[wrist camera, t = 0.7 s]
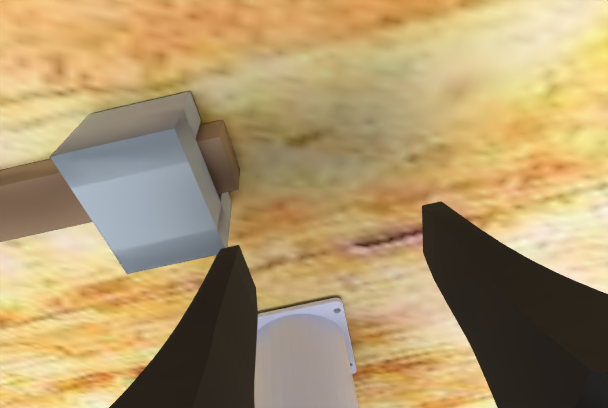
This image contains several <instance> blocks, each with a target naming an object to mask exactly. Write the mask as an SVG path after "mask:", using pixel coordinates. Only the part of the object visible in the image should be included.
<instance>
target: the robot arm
mask: <svg viewBox="0 0 608 408" xmlns="http://www.w3.org/2000/svg"><path fill="white" fill-rule="evenodd" d="M422 224H423V253H424V256H425V258H426V261H427V264H428V266H429V269H430V271H431V273H432V276H433V278H434V280H435V282H436V284H437V286H438V288H439V290H440V291H441V293H442V295H443V297H444V299H445V300H446V302H447V304H448V306H449V307H450V309H451V311H452V313H453V315H454V316H455V318H456V320H457V322H458V323H459V325H460V327H461V329H462V330H463V332H464V334H465V336H466V338H467V339H468V341H469V343H470V345H471V347H472V349H473V351H474V353H475V356H476V358H477V360H478V363H479V365H480V367H481V369H482V372H483V374H484V376H485V379H486V381H487V383H488V386H489V388H490V390H491V393H492V395H493V398H494V400H495V402H496V405H497V407H498V408H608V294H606V293H603V292H601V291H598V290H596V289H593V288H591V287H588V286H586V285H584V284H581V283H579V282H576V281H574V280H572V279H569V278H567V277H565V276H563V275H560V274H558V273H556V272H554V271H552V270H550V269H548V268H546V267H544V266H542V265H540V264H538V263H536V262H534V261H532V260H530V259H528V258H527V257H525V256H523V255H521V254H519V253H518V252H516V251H514V250H513V249H511V248H509V247H507V246H506V245H504V244H502V243H501V242H499V241H498V240H496V239H495V238H493V237H492V236H490V235H489V234H487V233H485V232H484V231H482V230H481V229H479V228H478V227H477V226H475V225H474V224H472V223H471V222H469V221H468V220H467V219H465V218H464V217H462V216H461V215H459V214H458V213H457V212H455V211H454V210H453V209H451V208H450V207H448V206H447V205H445V204H444V203H443V202H437V203H432V204H427V205H423V206H422ZM336 308H337V309H336ZM356 371H357V369H356V365H355V360H354V355H353V350H352V346H351V341H350V336H349V331H348V327H347V322H346V317H345V312H344V308H343V303H342V300H341V299H340V298H331V299H326V300H321V301H317V302H312V303H307V304H302V305H297V306H293V307H288V308H283V309H278V310H273V311H269V312H264V313H259V314H258V311H257V297H256V287H255V284H254V282H253V279H252V277H251V274H250V272H249V269H248V267H247V264H246V262H245V259H244V257H243V254H242V251H241V249H240V246H239V245H236V246H232V247H227V248H222V249H220V251H219V252H218V254H217V256H216V258H215V260H214V262H213V264H212V266H211V268H210V270H209V272H208V274H207V276H206V277H205V279H204V281H203V283H202V285H201V287H200V289H199V290H198V292H197V294H196V296H195V297H194V299H193V301H192V303H191V304H190V306H189V308H188V309H187V311H186V312H185V314H184V316H183V317H182V319H181V320H180V322H179V324H178V325H177V327H176V328H175V330H174V331H173V333H172V334H171V335H170V337H169V338H168V340H167V341H166V342H165V344H164V345H163V346H162V348H161V349H160V351H159V352H158V353H157V354H156V356H155V357H154V358H153V359H152V361H151V362H150V363H149V364H148V365H147V367H146V368H145V369H144V370H143V371H142V372H141V374H140V375H139V376H138V377H137V378H136V380H135V381H134V382H133V383H132V384H131V385H130V386H129V387H128V389H127V390H126V391H125V392H124V393H123V394H122V395H121V396H120V397H119V398H118V399H117V400H116V401H115V402H114V403H113V404H112V405H111V406H110V407H109V408H359V404H358V399H357V395H356V390H355V385H354V381H353V376H352V374H354V373H355V372H356Z"/></svg>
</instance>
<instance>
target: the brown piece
mask: <svg viewBox="0 0 608 408" xmlns="http://www.w3.org/2000/svg"><path fill="white" fill-rule="evenodd" d="M195 139H196V141H197V144H198V146H199V149H200V151H201V154H202V156H203V159H204V161H205V164H206V166H207V169H208V171H209V174H210V176H211V179H212V181H213V184H214V186H215V189H216V192H217V194H221V193H226V192H230V191H235V190H238V188H239V176H240V169H239V166H238V163H237V160H236V157H235V154H234V151H233V148H232V145H231V142H230V139H229V136H228V134H227V131H226V128H225V125H224V122H223V120H220V121H215V122H211V123H207V124H202V125H199V129H198V132H197V135H196V138H195ZM89 222H93V221H92V220H91V218H90V217H89V215H88V214H87V212H86V211H85V209H84V208H83V206H82V205H81V203H80V202H79V200H78V199H77V197H76V196H75V194H74V193H73V191H72V190H71V188H70V186H69V185H68V183H67V182H66V180H65V179H64V177H63V176H62V174H61V173H60V171H59V170H58V168H57V167H56V165H55V164H54V162H53V161H52V159H48V160H43V161H39V162H34V163H30V164H26V165H21V166H17V167H12V168H8V169H4V170H0V242H3V241H7V240H12V239H17V238H21V237H26V236H30V235H35V234H39V233H44V232H48V231H53V230H58V229H62V228H67V227H71V226H76V225H80V224H85V223H89Z"/></svg>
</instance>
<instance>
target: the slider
mask: <svg viewBox="0 0 608 408" xmlns="http://www.w3.org/2000/svg"><path fill="white" fill-rule="evenodd" d="M200 122H201V119H200V116H199V113H198V111H197V108H196V105H195V103H194V100H193V97H192V95H191V92H190V91H189V92H185V93H180V94H176V95H172V96H167V97H163V98H159V99H154V100H150V101H146V102H141V103H137V104H132V105H128V106H124V107H119V108H115V109H111V110H106V111H102V112H98V113H93V114H89V115H88V116H87V117H86V118H85V120H84V121H83V122H82V123H81V124H80V125H79V126H78V127H77V128H76V129H75V130H74V131H73V132H72V133H71V135H70V136H69V137H68V138H67V139H66V140H65V141H64V142H63V143H62V144H61V145H60V146H59V147H58V148H57V150H56V151H55V152H54V153H53V154H52V155H51V156H50V158H51V159H52V161H53V162H54V164H55V165H56V167H57V168H58V170H59V171H60V173H61V174H62V176H63V177H64V179H65V180H66V182H67V183H68V185H69V186H70V188H71V190H72V191H73V193H74V194H75V196H76V197H77V199H78V200H79V202H80V203H81V205H82V206H83V208H84V209H85V211H86V212H87V214H88V215H89V217H90V218H91V220H92V221H93V223H94V224H95V226H96V227H97V229H98V231H99V232H100V234H101V235H102V237H103V238H104V240H105V241H106V243H107V244H108V246H109V247H110V249H111V250H112V252H113V253H114V255H115V256H116V258H117V259H118V261H119V262H120V264H121V265H122V267H123V269H124V270H125V272H126V273H127V274H129V273H134V272H139V271H143V270H148V269H153V268H157V267H162V266H167V265H171V264H176V263H181V262H185V261H190V260H195V259H199V258H204V257H209V256H213V255H217V254H218V252H219V251H220V249H222V248H227V246H228V236H229V226H230V216H231V206H232V201H231V198H230V196H229V193H228V192H226V193H221V194H217V192H216V189H215V186H214V184H213V181H212V179H211V176H210V174H209V171H208V169H207V166H206V164H205V161H204V159H203V156H202V154H201V151H200V149H199V146H198V144H197V141H196V139H195V138H196V135H197V132H198V129H199V125H200Z"/></svg>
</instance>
